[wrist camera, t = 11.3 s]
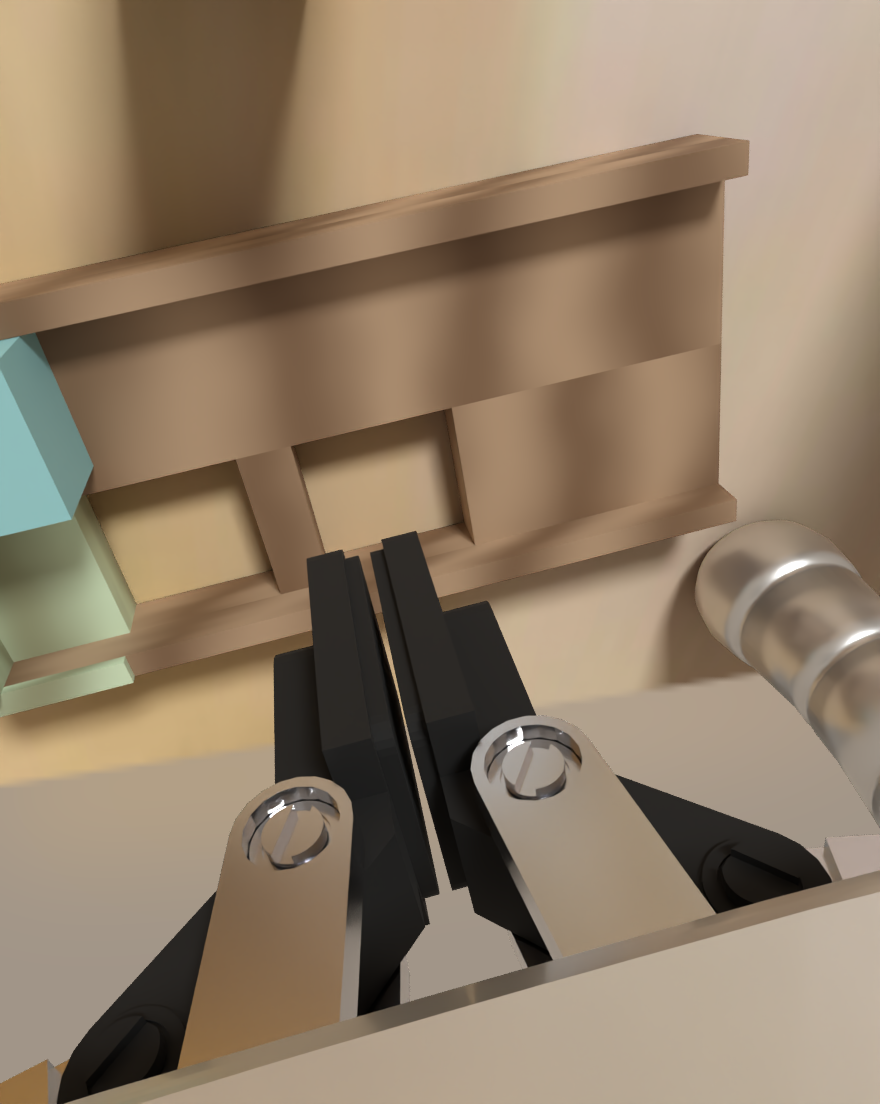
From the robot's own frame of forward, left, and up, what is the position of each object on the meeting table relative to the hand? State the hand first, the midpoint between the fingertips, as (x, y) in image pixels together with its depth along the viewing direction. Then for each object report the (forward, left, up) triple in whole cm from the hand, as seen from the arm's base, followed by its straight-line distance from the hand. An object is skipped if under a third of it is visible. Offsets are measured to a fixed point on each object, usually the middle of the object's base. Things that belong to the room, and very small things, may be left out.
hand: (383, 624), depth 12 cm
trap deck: (0, +4, -19) cm, 20 cm away
